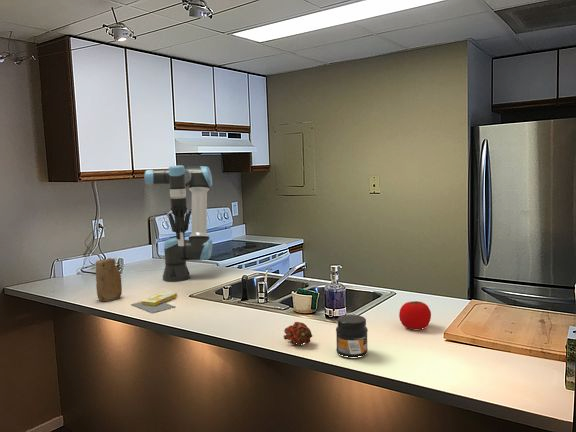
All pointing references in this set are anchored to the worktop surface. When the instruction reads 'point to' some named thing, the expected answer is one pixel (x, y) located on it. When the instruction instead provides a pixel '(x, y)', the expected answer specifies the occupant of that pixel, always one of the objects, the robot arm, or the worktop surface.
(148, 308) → the mat
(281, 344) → the worktop surface
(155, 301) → the candy box
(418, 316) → the tomato
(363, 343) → the supplement container
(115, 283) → the block
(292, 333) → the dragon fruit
